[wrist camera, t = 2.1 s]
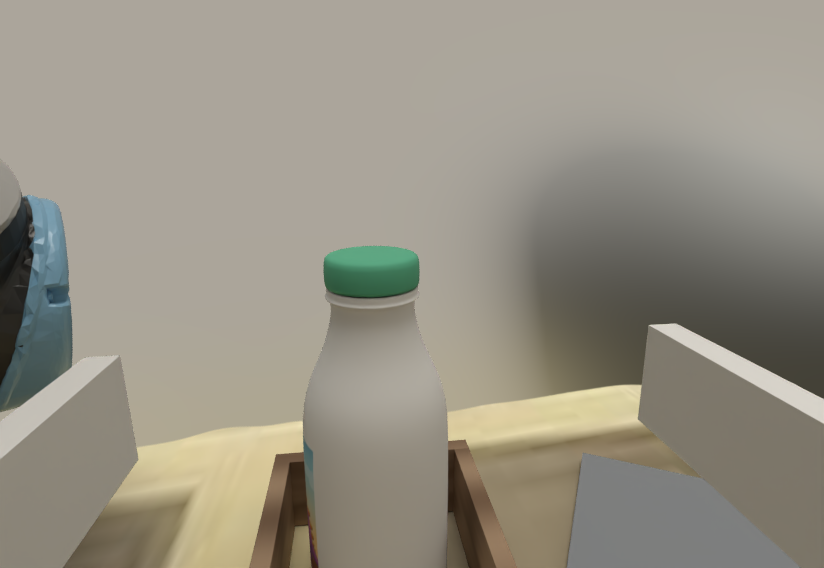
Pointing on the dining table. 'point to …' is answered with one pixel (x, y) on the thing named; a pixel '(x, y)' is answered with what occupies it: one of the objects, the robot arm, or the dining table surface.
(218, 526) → the dining table surface
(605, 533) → the grey tile
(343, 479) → the milk bottle
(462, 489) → the wooden frame
